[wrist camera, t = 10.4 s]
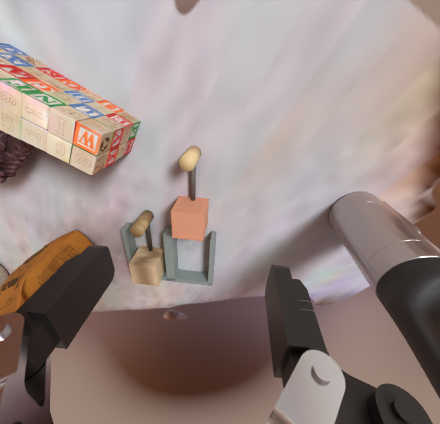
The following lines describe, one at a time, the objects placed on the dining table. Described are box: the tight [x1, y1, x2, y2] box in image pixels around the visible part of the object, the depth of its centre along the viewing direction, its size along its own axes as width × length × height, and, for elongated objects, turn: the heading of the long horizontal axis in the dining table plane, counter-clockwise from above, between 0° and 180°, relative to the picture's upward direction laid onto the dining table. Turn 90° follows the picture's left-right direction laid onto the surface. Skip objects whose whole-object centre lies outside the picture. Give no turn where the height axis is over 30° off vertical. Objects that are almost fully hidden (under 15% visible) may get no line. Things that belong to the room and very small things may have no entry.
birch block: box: [129, 210, 166, 286], centre depth 47 cm, size 6×16×6 cm, turn 176°
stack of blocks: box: [0, 43, 141, 175], centre depth 30 cm, size 21×6×12 cm, turn 60°
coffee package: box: [0, 231, 94, 316], centre depth 43 cm, size 10×12×22 cm
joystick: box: [171, 146, 209, 241], centre depth 39 cm, size 6×16×6 cm, turn 176°
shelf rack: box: [121, 223, 216, 286], centre depth 49 cm, size 20×14×3 cm
